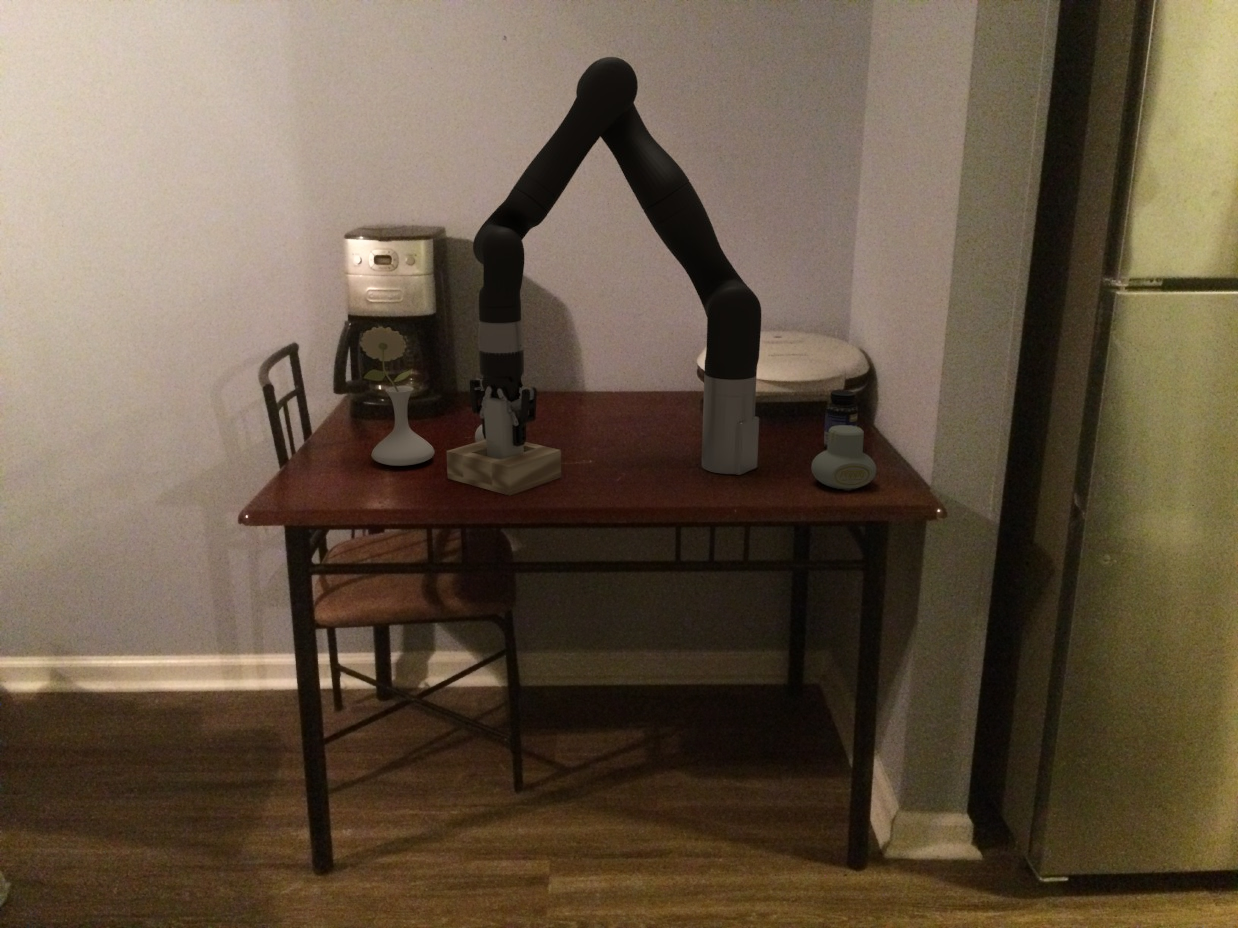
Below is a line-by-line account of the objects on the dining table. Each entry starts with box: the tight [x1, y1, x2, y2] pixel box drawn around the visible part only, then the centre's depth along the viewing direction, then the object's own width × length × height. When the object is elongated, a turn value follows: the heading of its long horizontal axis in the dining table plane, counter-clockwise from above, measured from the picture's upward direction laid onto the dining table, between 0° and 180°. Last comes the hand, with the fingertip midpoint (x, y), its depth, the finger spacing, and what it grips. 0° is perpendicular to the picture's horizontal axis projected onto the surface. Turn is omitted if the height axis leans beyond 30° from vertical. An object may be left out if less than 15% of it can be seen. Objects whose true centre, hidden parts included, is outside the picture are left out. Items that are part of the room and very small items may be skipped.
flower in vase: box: [359, 326, 436, 467], centre depth 184 cm, size 13×11×25 cm
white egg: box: [466, 423, 486, 443], centre depth 195 cm, size 8×6×6 cm
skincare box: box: [483, 397, 524, 460], centre depth 177 cm, size 6×4×12 cm
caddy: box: [446, 440, 562, 496], centre depth 178 cm, size 15×13×5 cm
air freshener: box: [810, 425, 877, 491], centre depth 175 cm, size 11×8×10 cm
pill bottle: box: [823, 389, 859, 449], centre depth 197 cm, size 6×6×11 cm
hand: (504, 441), depth 177 cm, fingers closed on skincare box, 6 cm apart
